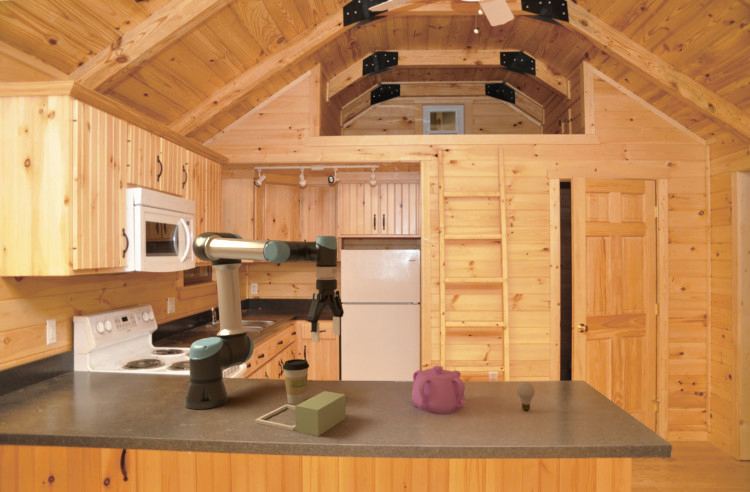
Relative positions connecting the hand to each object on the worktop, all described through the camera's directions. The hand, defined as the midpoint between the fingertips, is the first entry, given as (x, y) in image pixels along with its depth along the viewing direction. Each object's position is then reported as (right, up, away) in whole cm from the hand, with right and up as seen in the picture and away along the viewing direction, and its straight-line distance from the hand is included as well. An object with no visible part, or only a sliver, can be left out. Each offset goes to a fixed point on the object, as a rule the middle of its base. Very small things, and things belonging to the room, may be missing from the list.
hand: (326, 337), depth 159 cm
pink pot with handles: (+42, -26, +4) cm, 49 cm away
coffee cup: (-12, -26, +8) cm, 30 cm away
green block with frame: (-7, -25, -11) cm, 29 cm away
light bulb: (+71, -25, -3) cm, 75 cm away
